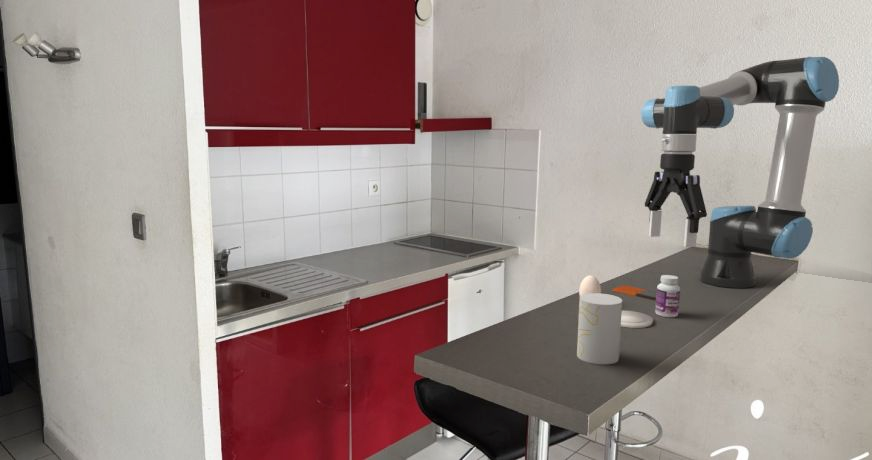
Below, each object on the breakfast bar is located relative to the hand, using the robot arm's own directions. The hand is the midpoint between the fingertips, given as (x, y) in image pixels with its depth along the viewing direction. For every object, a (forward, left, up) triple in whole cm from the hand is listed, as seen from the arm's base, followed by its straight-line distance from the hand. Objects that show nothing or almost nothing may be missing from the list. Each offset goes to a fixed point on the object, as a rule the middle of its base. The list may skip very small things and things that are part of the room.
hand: (671, 241), depth 145 cm
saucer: (+12, +2, -18) cm, 22 cm away
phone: (-5, -18, -19) cm, 27 cm away
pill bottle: (0, 0, -19) cm, 19 cm away
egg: (+14, -12, -19) cm, 26 cm away
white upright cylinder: (+31, +21, -19) cm, 42 cm away
